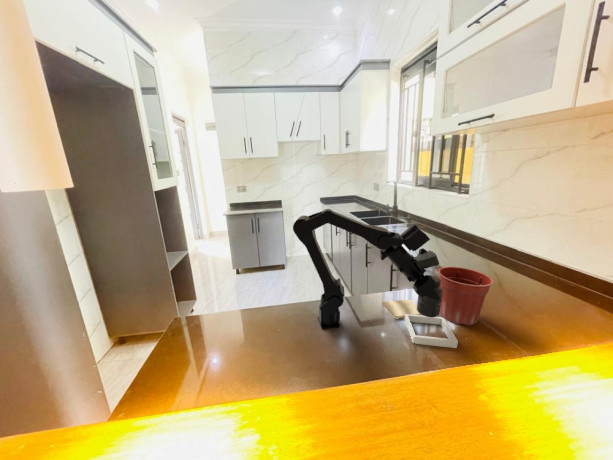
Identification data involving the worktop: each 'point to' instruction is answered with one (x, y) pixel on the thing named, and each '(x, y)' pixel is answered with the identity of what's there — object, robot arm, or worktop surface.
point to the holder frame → (432, 341)
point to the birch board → (401, 308)
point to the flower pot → (463, 294)
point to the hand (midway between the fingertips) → (434, 294)
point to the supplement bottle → (430, 302)
